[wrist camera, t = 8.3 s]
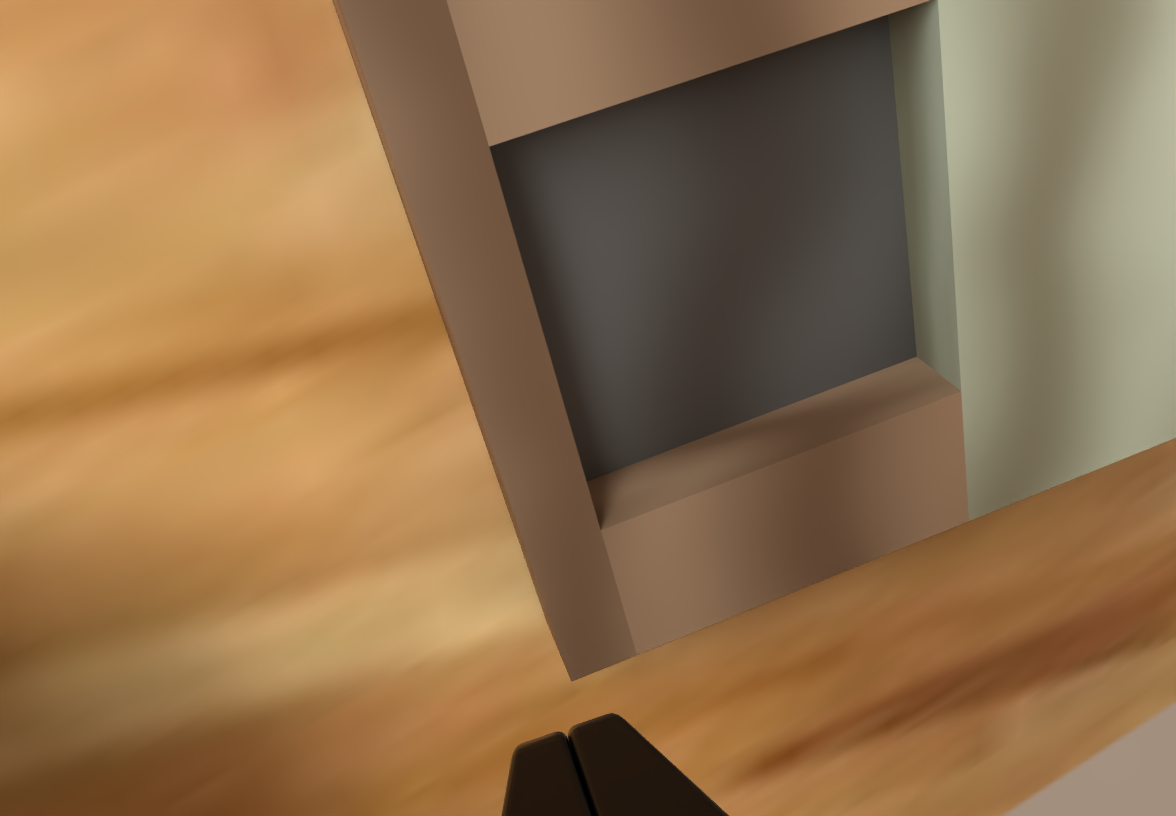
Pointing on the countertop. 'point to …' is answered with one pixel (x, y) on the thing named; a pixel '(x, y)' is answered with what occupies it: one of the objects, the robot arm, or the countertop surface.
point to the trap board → (781, 273)
